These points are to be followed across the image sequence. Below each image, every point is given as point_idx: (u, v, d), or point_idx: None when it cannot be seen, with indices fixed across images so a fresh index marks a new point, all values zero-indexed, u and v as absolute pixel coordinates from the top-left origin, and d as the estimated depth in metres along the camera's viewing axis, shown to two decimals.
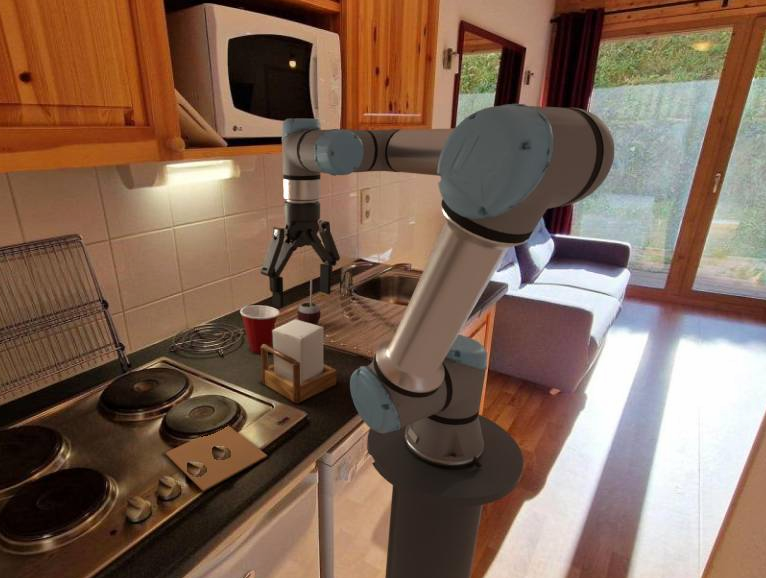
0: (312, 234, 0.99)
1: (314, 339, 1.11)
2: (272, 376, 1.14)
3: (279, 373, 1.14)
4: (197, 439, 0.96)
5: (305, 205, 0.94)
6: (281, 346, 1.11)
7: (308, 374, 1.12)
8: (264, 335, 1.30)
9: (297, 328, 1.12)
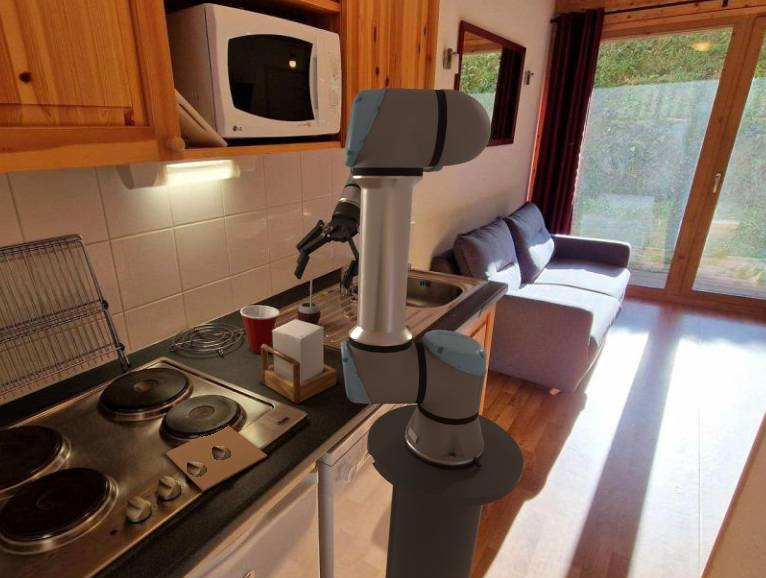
0: (343, 228, 1.18)
1: (314, 339, 1.11)
2: (272, 376, 1.14)
3: (279, 373, 1.14)
4: (197, 439, 0.96)
5: (340, 202, 1.20)
6: (281, 346, 1.11)
7: (308, 374, 1.12)
8: (264, 335, 1.30)
9: (297, 328, 1.12)
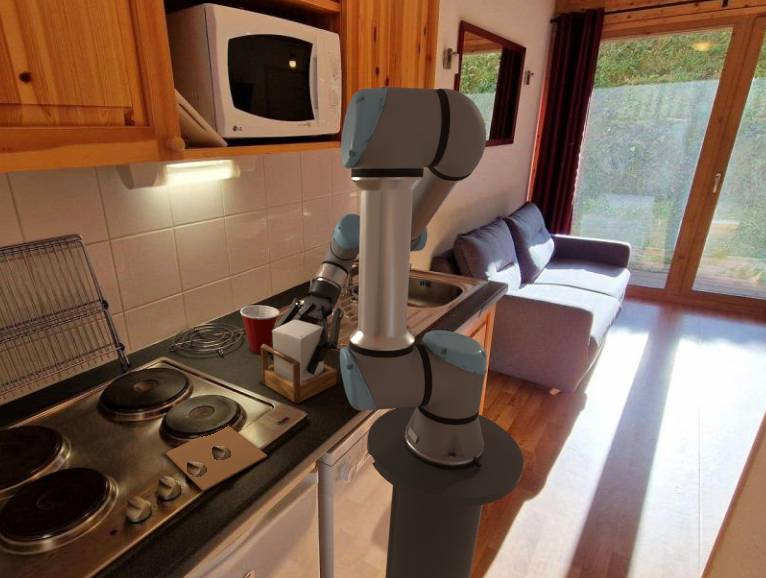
0: (318, 307, 1.16)
1: (314, 339, 1.11)
2: (272, 376, 1.14)
3: (279, 373, 1.14)
4: (197, 439, 0.96)
5: (316, 280, 1.18)
6: (281, 346, 1.11)
7: (308, 374, 1.12)
8: (264, 335, 1.30)
9: (297, 328, 1.12)
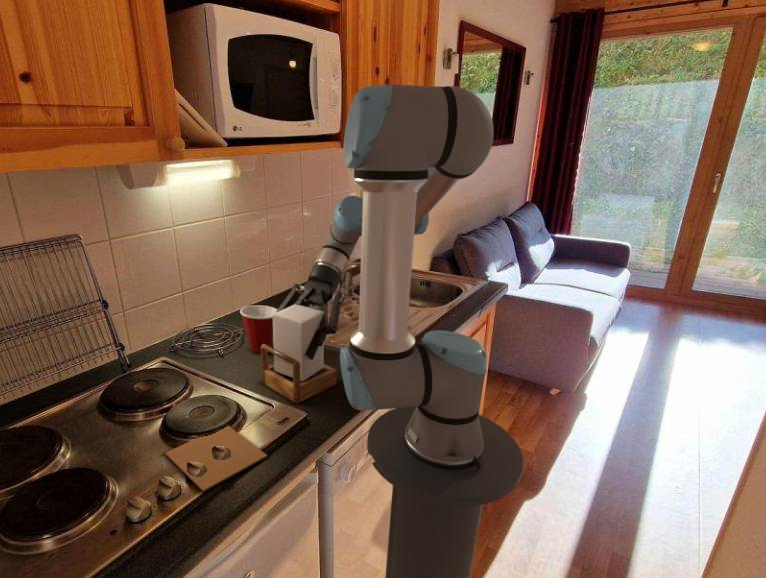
0: (318, 291, 1.14)
1: (315, 324, 1.09)
2: (272, 376, 1.14)
3: (279, 358, 1.13)
4: (197, 439, 0.96)
5: (316, 264, 1.16)
6: (282, 330, 1.09)
7: (308, 359, 1.10)
8: (264, 335, 1.30)
9: (297, 313, 1.10)
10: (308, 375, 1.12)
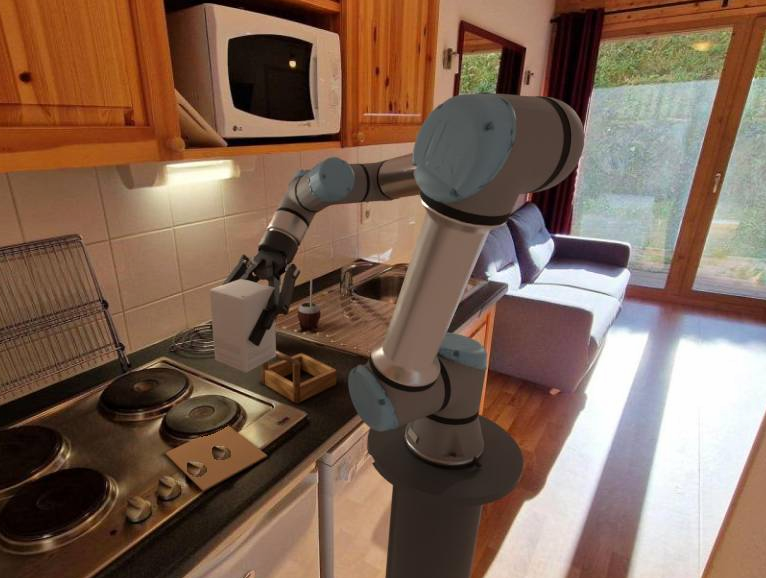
0: (268, 263, 0.93)
1: (261, 302, 0.88)
2: (272, 376, 1.14)
3: (219, 344, 0.92)
4: (197, 439, 0.96)
5: (267, 231, 0.95)
6: (220, 310, 0.89)
7: (253, 346, 0.90)
8: None
9: (240, 288, 0.89)
10: (254, 365, 0.91)
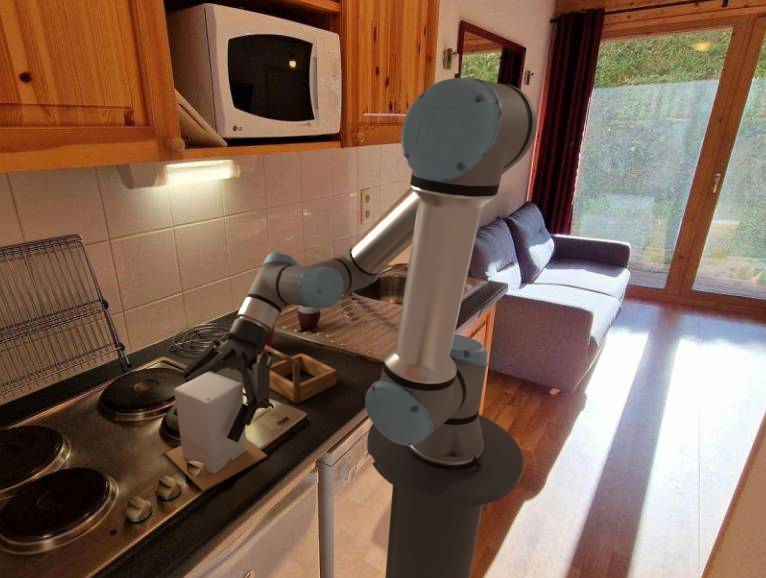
0: (237, 354, 0.89)
1: (228, 402, 0.85)
2: (272, 376, 1.14)
3: (186, 443, 0.88)
4: None
5: (237, 319, 0.92)
6: (185, 410, 0.85)
7: (221, 446, 0.86)
8: None
9: (206, 387, 0.86)
10: (223, 464, 0.88)
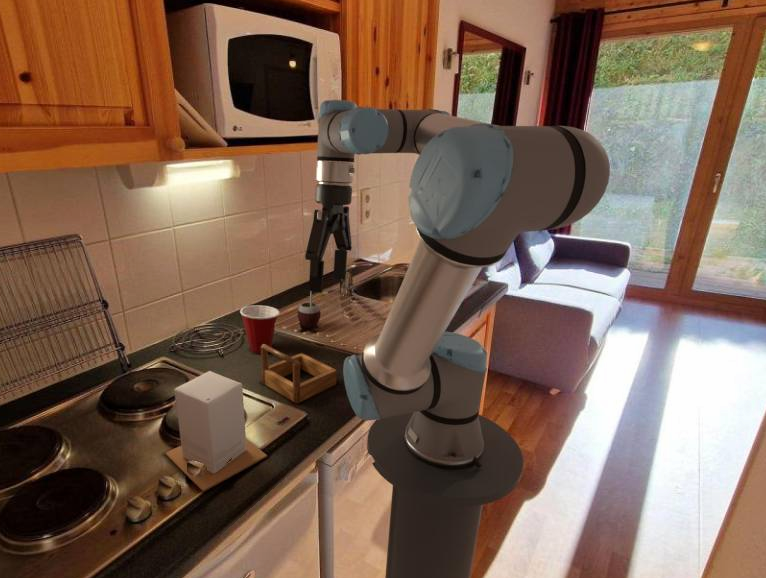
0: None
1: (228, 402, 0.85)
2: (272, 376, 1.14)
3: (186, 443, 0.88)
4: None
5: None
6: (185, 410, 0.85)
7: (221, 446, 0.86)
8: (264, 335, 1.30)
9: (206, 387, 0.86)
10: (223, 464, 0.88)
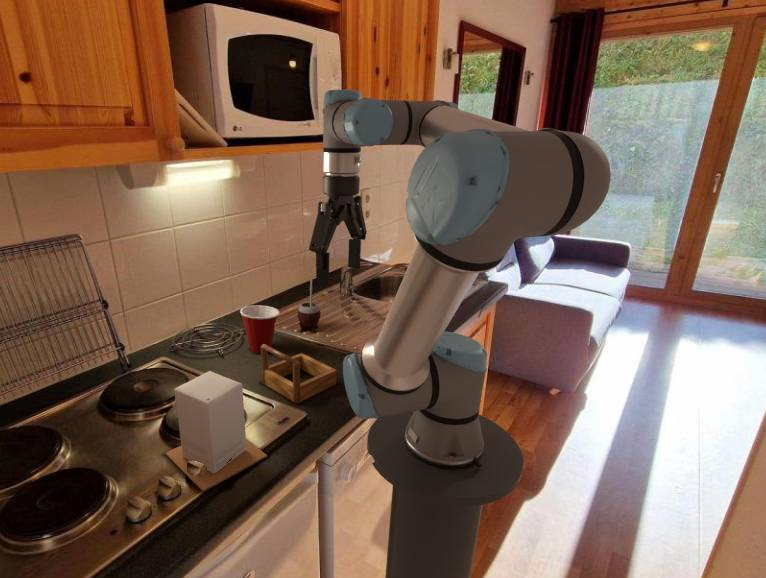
0: None
1: (228, 402, 0.85)
2: (272, 376, 1.14)
3: (186, 443, 0.88)
4: None
5: None
6: (185, 410, 0.85)
7: (221, 446, 0.86)
8: (264, 335, 1.30)
9: (206, 387, 0.86)
10: (223, 464, 0.88)
